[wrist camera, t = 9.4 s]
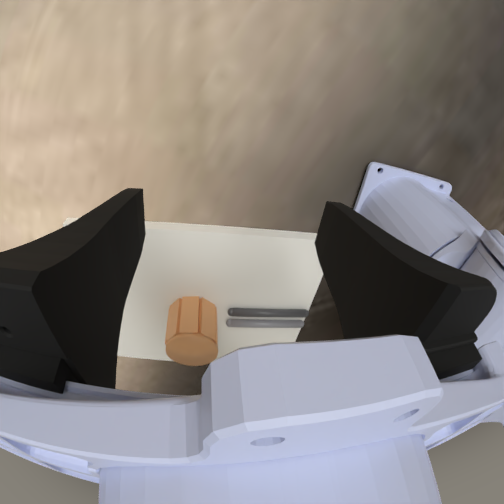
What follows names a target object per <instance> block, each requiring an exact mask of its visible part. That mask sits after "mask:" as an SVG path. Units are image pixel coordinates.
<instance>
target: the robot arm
mask: <svg viewBox="0 0 504 504" xmlns="http://www.w3.org/2000/svg"><path fill="white" fill-rule="evenodd" d="M379 168H381V170H380V171H379V172H377V170H378V169H379ZM440 185H441V186H440ZM451 190H452V186H451V184H449V183H448V182H445V181H442V180H438V179H435V178H432V177H429V176H425V175H422V174H419V173H415V172H412V171H408V170H404V169H401V168H397V167H393V166H389V165H385V164H381V163H377V162H371V163H370V164H369V165H368V167H367V170H366V173H365V176H364V179H363V182H362V185H361V188H360V191H359V194H358V197H357V200H356V203H355V206H354V209H351V208H350V207H348V206H346V205H344V204H342V203H337V202H329V201H327V202H326V205H325V209H324V212H323V216H322V219H321V223H320V226H319V229H318V233H317V236H316V239H315V247H316V252H317V256H318V260H319V263H320V266H321V269H322V271H323V274H324V276H325V279H326V281H327V284H328V286H329V289H330V291H331V294H332V296H333V299H334V301H335V304H336V307H337V310H338V313H339V317H340V321H341V325H342V329H343V334H344V339H342V340H328V341H309V342H282V343H267V344H261V345H255V346H248V347H241V348H238V349H236V350H234V351H232V352H230V353H228V354H226V355H224V356H222V357H220V358H218V359H216V360H214V361H213V362H211V363H210V365H209V367H208V368H207V370H206V372H205V373H204V375H203V377H202V394H201V395H193V396H183V395H166V394H154V393H143V392H134V391H126V390H118V389H115V384H116V366H117V353H118V345H119V337H120V329H121V323H122V317H123V311H124V307H125V303H126V299H127V296H128V293H129V289H130V286H131V283H132V280H133V277H134V275H135V272H136V269H137V266H138V263H139V260H140V257H141V254H142V249H143V245H144V240H145V235H146V232H145V219H144V203H143V189H135V188H128V189H125V190H123V191H121V192H120V193H118V194H117V195H115V196H113V197H112V198H110V199H109V200H107V201H106V202H104V203H103V204H101V205H100V206H98V207H97V208H95V209H93V210H92V211H90V212H89V213H87V214H85V215H84V216H82V217H81V218H79V219H77V220H76V221H74V222H72V223H70V224H68V225H66V226H65V227H63V228H61V229H59V230H57V231H55V232H53V233H50V234H48V235H46V236H44V237H41V238H39V239H37V240H35V241H32V242H30V243H27V244H24V245H22V246H19V247H16V248H13V249H10V250H7V251H4V252H0V447H1V448H3V449H5V450H7V451H9V452H11V453H13V454H15V455H18V456H20V457H22V458H25V459H27V460H29V461H32V462H34V463H37V464H39V465H42V466H44V467H47V468H50V469H53V470H55V471H58V472H61V473H64V474H67V475H71V476H74V477H77V478H81V479H85V480H88V481H92V482H95V483H99V504H442V502H441V498H440V494H439V490H438V487H437V483H436V479H435V476H434V473H433V469H432V466H431V463H430V459H429V456H428V453H427V450H429V449H431V448H433V447H436V446H438V445H440V444H442V443H443V442H445V441H447V440H450V439H451V438H453V437H455V436H457V435H459V434H461V433H463V432H464V431H466V430H468V429H470V428H472V427H473V426H475V425H477V424H478V423H480V422H500V423H501V424H502V425H503V427H504V236H503V235H502V234H501V233H500V232H499V231H498V230H490V231H488V230H486V229H485V228H484V227H483V226H482V225H481V224H480V223H479V222H478V221H477V220H476V219H475V218H473V217H472V216H471V215H470V214H469V213H468V212H467V211H466V210H465V209H464V208H463V207H462V206H460V205H459V204H458V203H457V202H456V201H455V200H454V199H452V198H451V197H450V196H449V195H450V192H451Z"/></svg>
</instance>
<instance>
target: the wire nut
mask: <svg viewBox="0 0 504 504" xmlns="http://www.w3.org/2000/svg"><path fill="white" fill-rule="evenodd" d="M165 345H166V354H167V356H168V357H169V358H170V359H172V360H173V361H175V362H177V363H179V364H183V365H188V366H201V365H205V364H208V363H211V362H212V361H214V360H215V359H216V358H217V355H218V327H217V308H216V307H215V304H213V303H211V302H210V301H208V300H206V299H205V298H203V297H202V298H200V299H199V296H188V297H182V299H181V298H178V299H177V300H176V301H175V302H174V303H172V304H171V305H170V308H169V312H168V320H167V328H166V337H165Z"/></svg>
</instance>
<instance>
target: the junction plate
mask: <svg viewBox="0 0 504 504" xmlns="http://www.w3.org/2000/svg"><path fill="white" fill-rule="evenodd" d="M77 219H79V218H67V219H66V220H65V222H64V223H63V227H65V226H66V225H68V224H70V223H72V222H74V221H76V220H77ZM145 232H146V235H145V240H144V245H143V249H142V254H141V257H140V260H139V263H138V266H137V269H136V272H135V275H134V277H133V280H132V283H131V286H130V289H129V293H128V296H127V299H126V303H125V307H124V311H123V317H122V323H121V329H120V337H119V345H118V353H117V356H125V357H133V358H143V359H153V360H165V361H173V360H172V359H170V358H169V357H168V356H167V354H166V345H165V337H166V328H167V320H168V312H169V308H170V305H171V304H172V303H174V302H175V301H176V300H177V299H178V298H181V299H182V297H188V296H199V299H200V298H202V297H203V298H205V299H206V300H208V301H210V302H211V303H213V304H215V307H216V308H217V327H218V355H217V358H216V359H218V358H220V357H222V356H224V355H226V354H228V353H230V352H232V351H234V350H236V349H238V348H241V347H248V346H255V345H261V344H267V343H282V342H295V340H296V338H297V336H298V334H299V331H300V329H301V328H302V327H303V326H304V320H305V317H307V316H308V315H309V312H308V310H309V308H310V306H311V303H312V301H313V298H314V296H315V293H316V291H317V289H318V286H319V284H320V281H321V278H322V276H323V271H322V269H321V266H320V263H319V260H318V256H317V252H316V247H315V239H316V236H317V233H306V232H295V231H283V230H270V229H258V228H245V227H231V226H217V225H202V224H187V223H171V222H153V221H145ZM216 359H215V360H216ZM212 362H213V361H212Z"/></svg>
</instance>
